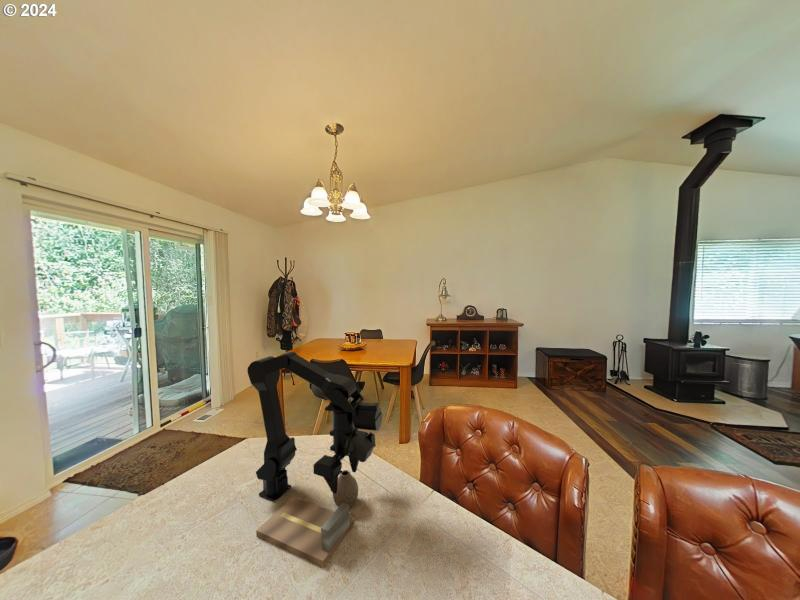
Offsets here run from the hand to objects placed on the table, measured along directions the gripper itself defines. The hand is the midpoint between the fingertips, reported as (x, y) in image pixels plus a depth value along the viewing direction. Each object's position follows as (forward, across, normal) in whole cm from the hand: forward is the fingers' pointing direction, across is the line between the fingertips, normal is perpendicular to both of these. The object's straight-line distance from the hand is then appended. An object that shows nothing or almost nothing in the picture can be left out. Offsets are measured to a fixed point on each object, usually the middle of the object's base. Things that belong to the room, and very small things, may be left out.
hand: (344, 481), depth 78 cm
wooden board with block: (+6, -11, +4) cm, 13 cm away
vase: (+6, 0, 0) cm, 6 cm away
